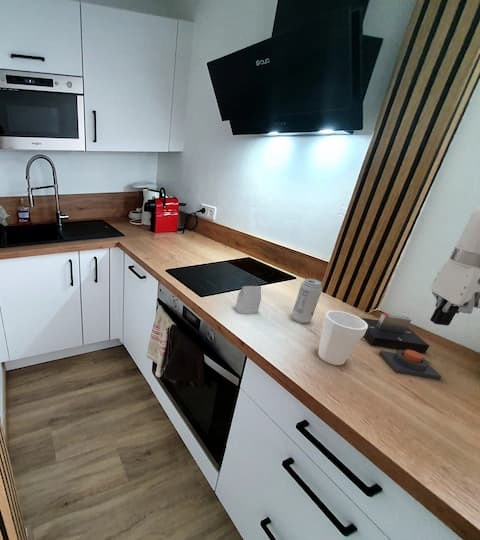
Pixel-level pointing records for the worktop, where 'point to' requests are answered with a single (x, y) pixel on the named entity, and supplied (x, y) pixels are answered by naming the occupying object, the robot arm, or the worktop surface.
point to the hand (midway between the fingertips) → (439, 323)
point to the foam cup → (340, 336)
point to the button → (413, 356)
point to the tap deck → (394, 338)
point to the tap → (393, 323)
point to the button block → (409, 365)
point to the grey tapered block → (249, 299)
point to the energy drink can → (307, 300)
